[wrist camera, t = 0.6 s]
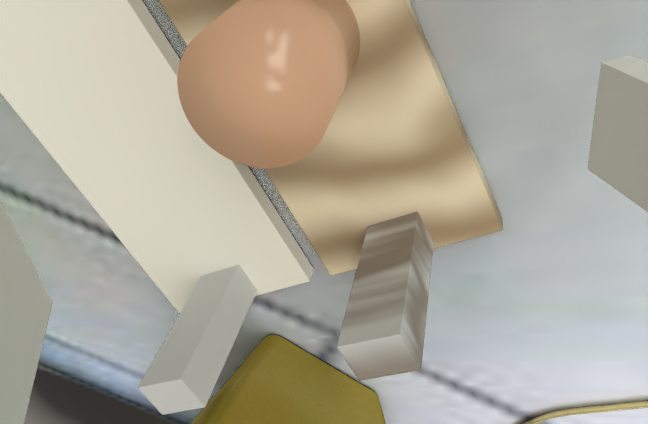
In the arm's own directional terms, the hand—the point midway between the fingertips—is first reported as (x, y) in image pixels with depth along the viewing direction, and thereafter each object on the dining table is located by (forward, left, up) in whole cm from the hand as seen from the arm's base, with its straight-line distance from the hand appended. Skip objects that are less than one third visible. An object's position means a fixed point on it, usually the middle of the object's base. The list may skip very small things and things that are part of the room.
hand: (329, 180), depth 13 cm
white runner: (+4, -25, -26) cm, 36 cm away
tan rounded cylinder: (+2, -9, -24) cm, 26 cm away
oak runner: (+4, -9, -26) cm, 27 cm away
